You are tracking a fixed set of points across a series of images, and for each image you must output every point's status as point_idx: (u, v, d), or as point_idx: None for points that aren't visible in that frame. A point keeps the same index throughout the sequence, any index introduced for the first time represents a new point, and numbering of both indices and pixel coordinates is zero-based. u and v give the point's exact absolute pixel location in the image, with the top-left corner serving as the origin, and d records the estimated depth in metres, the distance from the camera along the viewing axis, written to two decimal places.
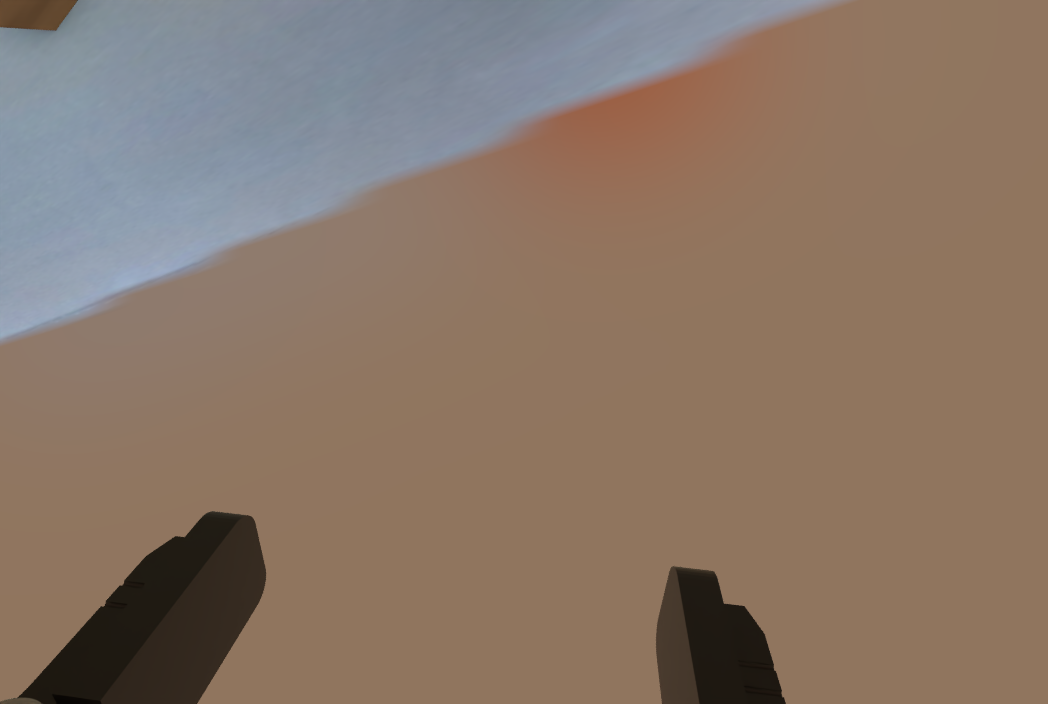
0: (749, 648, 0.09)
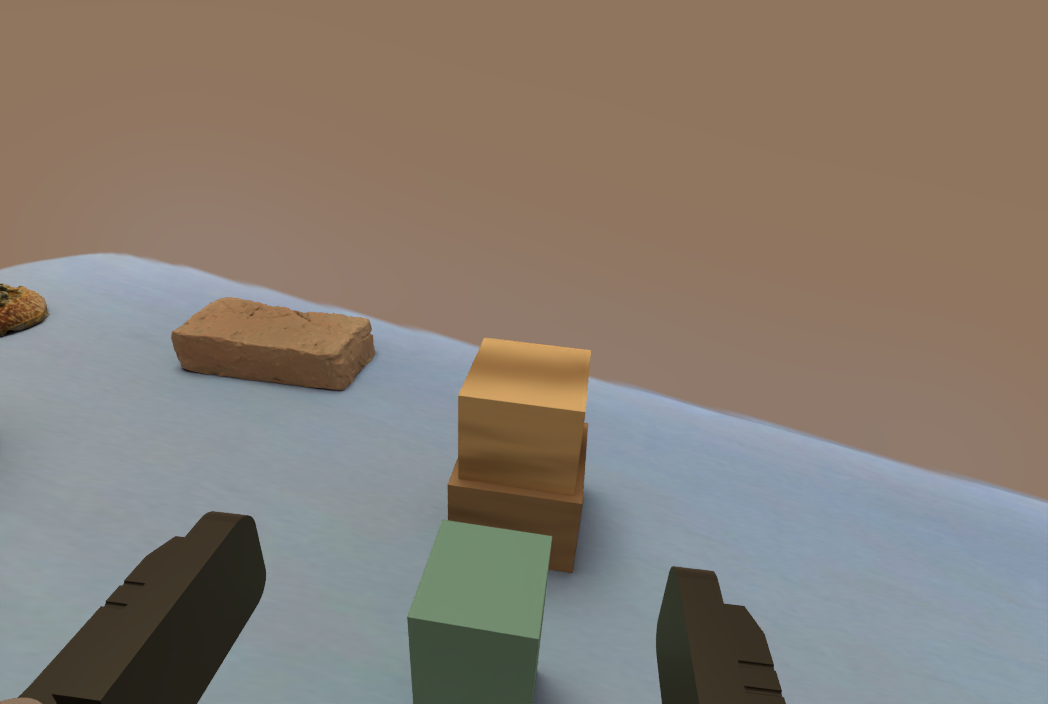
0: (749, 648, 0.09)
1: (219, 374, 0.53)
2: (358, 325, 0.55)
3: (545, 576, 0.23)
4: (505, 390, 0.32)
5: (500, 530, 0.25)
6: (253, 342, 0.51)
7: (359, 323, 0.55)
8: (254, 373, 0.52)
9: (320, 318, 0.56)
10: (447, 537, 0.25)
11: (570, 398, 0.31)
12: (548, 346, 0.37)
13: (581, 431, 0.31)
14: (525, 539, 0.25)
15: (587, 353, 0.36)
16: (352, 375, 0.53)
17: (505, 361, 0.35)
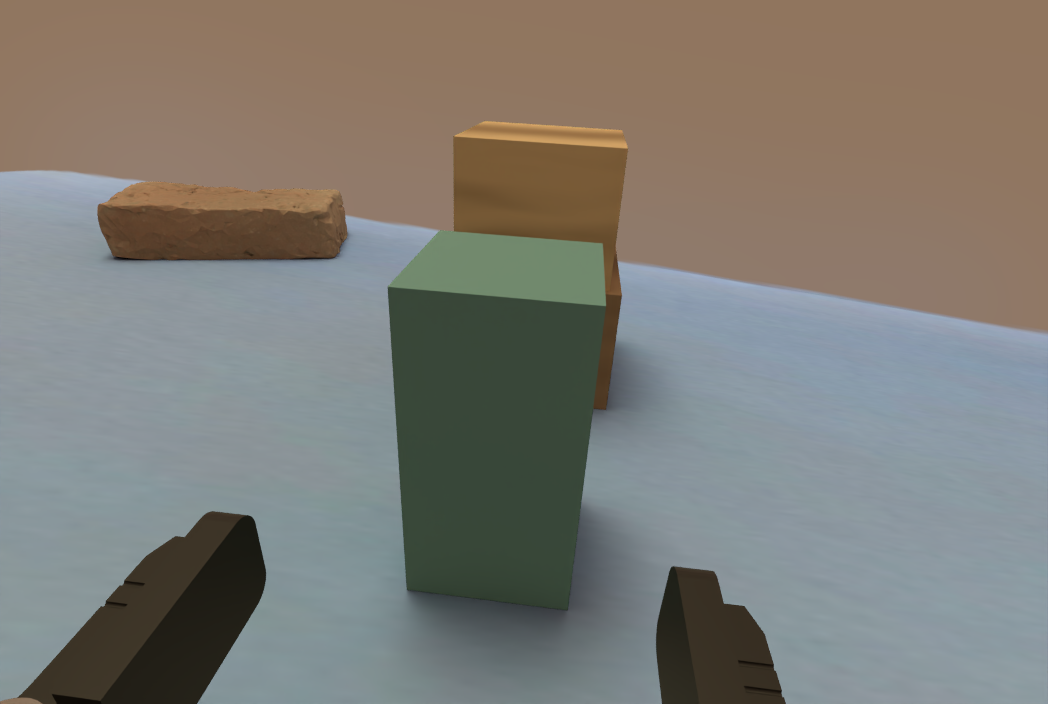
0: (749, 648, 0.09)
1: (169, 257, 0.43)
2: (332, 193, 0.48)
3: (601, 265, 0.15)
4: (516, 137, 0.24)
5: (526, 238, 0.17)
6: (215, 207, 0.42)
7: (331, 192, 0.49)
8: (218, 248, 0.43)
9: (280, 192, 0.48)
10: (448, 240, 0.17)
11: (604, 143, 0.23)
12: None
13: (621, 182, 0.23)
14: (565, 243, 0.17)
15: (618, 130, 0.28)
16: (337, 245, 0.47)
17: (513, 128, 0.27)
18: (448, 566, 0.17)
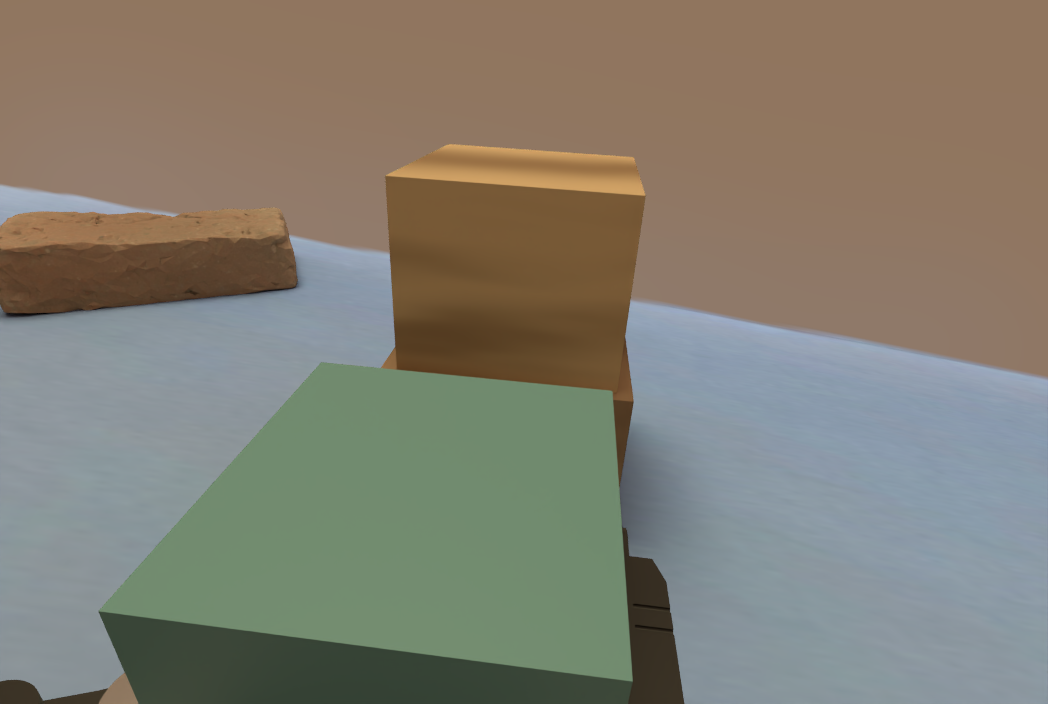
0: (649, 594, 0.10)
1: (86, 307, 0.34)
2: (276, 212, 0.42)
3: (613, 475, 0.07)
4: (480, 176, 0.16)
5: (473, 381, 0.10)
6: (145, 241, 0.34)
7: (273, 211, 0.42)
8: (153, 290, 0.35)
9: (210, 214, 0.41)
10: (325, 394, 0.09)
11: (610, 185, 0.16)
12: (559, 152, 0.21)
13: (635, 244, 0.15)
14: (543, 396, 0.09)
15: (628, 158, 0.21)
16: None
17: (483, 158, 0.19)
18: None
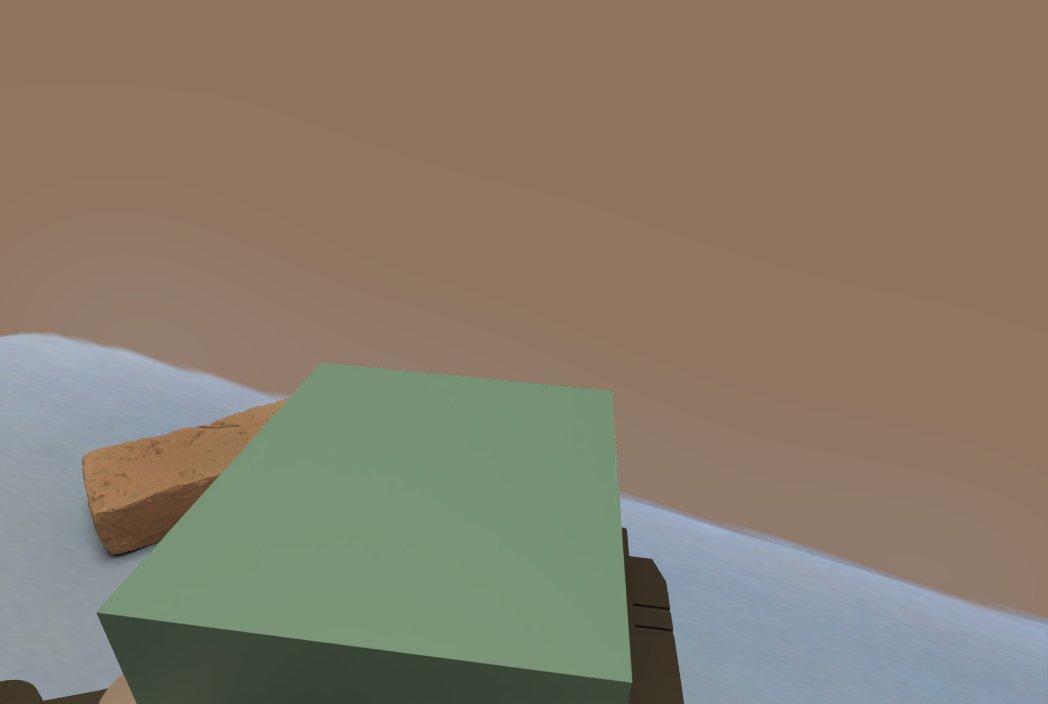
0: (649, 594, 0.10)
1: None
2: None
3: (613, 475, 0.07)
4: None
5: (473, 381, 0.09)
6: (219, 470, 0.43)
7: None
8: None
9: (243, 419, 0.49)
10: (324, 394, 0.09)
11: None
12: None
13: None
14: (542, 396, 0.09)
15: None
16: None
17: None
18: None
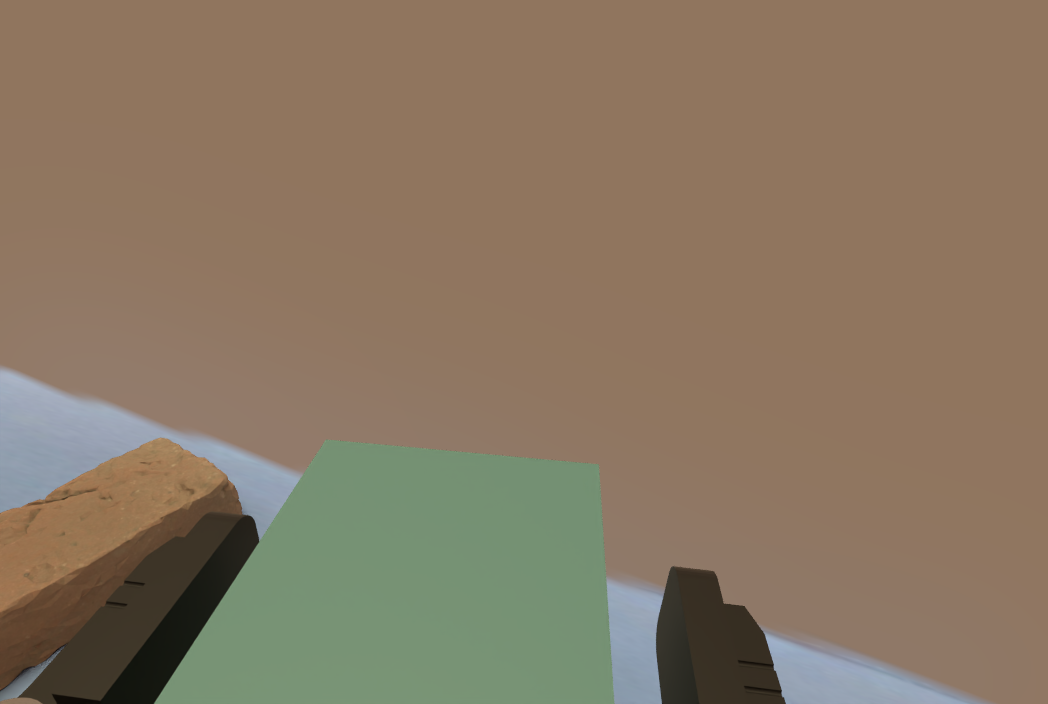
0: (749, 648, 0.09)
1: (37, 661, 0.28)
2: (174, 446, 0.38)
3: (601, 559, 0.08)
4: None
5: (469, 457, 0.10)
6: (91, 555, 0.30)
7: (166, 445, 0.38)
8: None
9: (98, 479, 0.35)
10: (331, 476, 0.10)
11: None
12: None
13: None
14: (534, 472, 0.10)
15: None
16: None
17: None
18: None
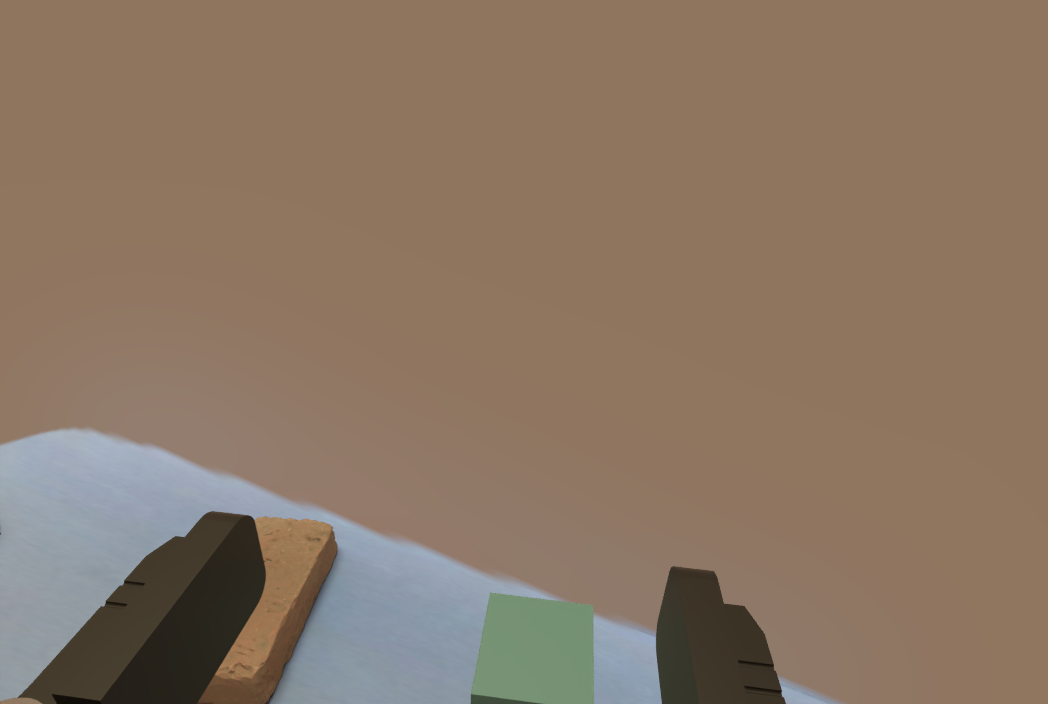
0: (749, 648, 0.09)
1: (288, 658, 0.47)
2: (276, 519, 0.55)
3: (592, 647, 0.25)
4: None
5: (544, 601, 0.27)
6: (295, 589, 0.48)
7: (269, 520, 0.55)
8: (306, 615, 0.50)
9: None
10: (497, 610, 0.27)
11: None
12: None
13: None
14: (569, 609, 0.27)
15: None
16: None
17: None
18: None
